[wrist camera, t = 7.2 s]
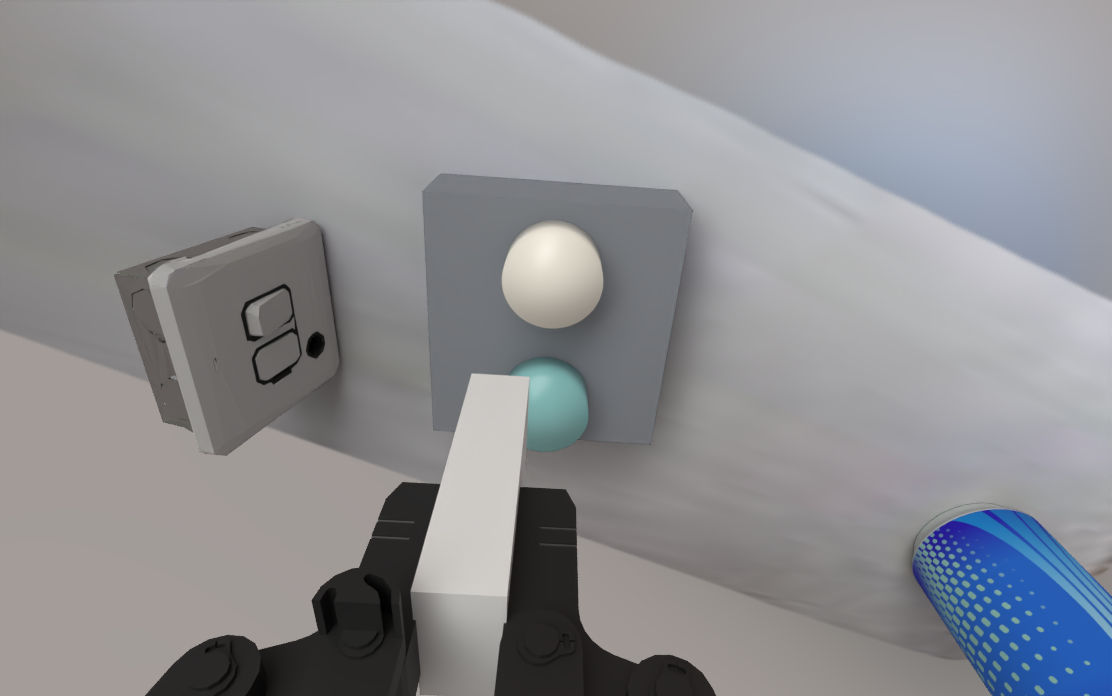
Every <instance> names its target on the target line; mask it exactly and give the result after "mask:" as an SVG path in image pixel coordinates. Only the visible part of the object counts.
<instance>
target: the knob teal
mask: <svg viewBox="0 0 1112 696" xmlns="http://www.w3.org/2000/svg"><path fill="white" fill-rule="evenodd" d="M508 376H525V377H530V383H529V406H528V429H527V449H529V450H533V451H539V452H550V451H556V450H560V449H563V448H565V447H568V446H569V445H571V444H573V443H574V442H575V441H577V440H578V439H579V438H580V437H581V435H582V434H583V432H584V431H585V429H586V426H587V423H588V397H587V387H586V383H585V381H584V379H583V377H582V376H581V374H580V373H579V372H578V371H577V370H576V369H575V368H574V367H573V366H571V365H570V364H568V363H566V362H564V361H562V360H559V359H555V358H549V357H540V358H533V359H530V360H527V361H524V362H522V363H521V364H519V365H518V366H516V367H515V368H514V369H513V370H512V371H511V372H510V373H509V375H508Z"/></svg>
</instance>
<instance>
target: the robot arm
mask: <svg viewBox="0 0 1112 696" xmlns="http://www.w3.org/2000/svg"><path fill="white" fill-rule="evenodd" d="M529 383H530V377H525V376H508V375H490V374H473V373H472V374H471V378H470V381H469V385H468V388H467V392H466V395H465V399H464V403H463V406H462V410H461V413H460V417H459V420H458V424H457V428H456V431H455V435H454V438H453V442H452V445H451V449H450V453H449V456H448V460H447V463H446V467H445V470H444V474H443V478H442V481H441V484H428V483H409V482H402V483H401V484H400V485H399V486H398V487H397V488H396V489H395V490H394V491H393V492H392V493H391V494H390V495H389V496H388V497H387V498H386V501H385V503H384V505H383V508H382V510H381V513H380V516H379V518H378V522H377V523H376V526H375V528H374V531H373V533H372V539H370V541H369V544H368V546H367V549H366V551H365V554H364V557H363V559H362V562H361V564H360V567H359V568H353V569H350V570H347V571H345V572H342V573H340V574H338V575H335V576H334V577H333V578H331V579H330V580H329V581H327V582H326V583H325V584H324V585H322V586H321V587H320V589H319V590H318V592H317V593H316V595H315V596H314V598H313V599H312V604H313V609H314V614H315V618H316V622H317V627H318V631H317V632H315V633H313V634H312V635H310V636H307V637H305V638H302V639H299V640H296V641H292V642H288V643H285V644H281V645H276V646H273V647H269V648H264V649H261V650H258V649H257V646H256V644H255V643H254V642H252V641H250V640H249V639H247V638H245V637H244V636H234V635H226V636H221V637H217V638H213V639H209V640H207V641H205V642H203V643H201V644H199V645H198V646H196V647H194V648H192V649H190V650H189V651H188V652H186V653H185V654H184V655H183V656H182V657H181V658H180V659H179V660H177V661H176V662H175V663H174V664H173V665H172V666H171V667H170V668H169V669H168V671H167V672H166V673H165V674H164V675H163V676H162V677H161V678H160V680H159V681H158V682H157V683H156V684H155V685H154V686H153V687H152V688H151V690H150V691H149V692H148V693H147V694H146V695H145V696H416V692H417V687H418V683H419V687H420V695H437V696H716V695H715V693H714V690H713V688H712V687H711V685H710V684H709V682H708V681H707V679H706V678H705V676H704V675H703V673H702V672H701V671H699V670H698V669H697V668H696V667H694V666H693V665H692V664H691V663H689V662H688V661H686V660H683V659H681V658H678V657H675V656H673V655H654V656H652V657H649V658H647V659H645V660H642V661H641V662H640V663H639V664H636V663H633V662H631V661H628V660H626V659H623V658H620V657H618V656H615V655H613V654H611V653H609V652H607V651H605V650H603V649H602V648H600V647H599V646H598V645H597V644H596V643H594V642H593V641H592V640H591V638H590V637H589V636H588V634H587V633H586V632H585V630H584V628H583V626H582V624H581V621H580V616H579V610H578V573H577V532H576V507H575V505H574V503H573V501H572V500H571V498H570V496H569V494H568V492H567V491H566V489H547V488H529V487H524V478H525V467H526V452H527V429H528V406H529Z"/></svg>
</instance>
